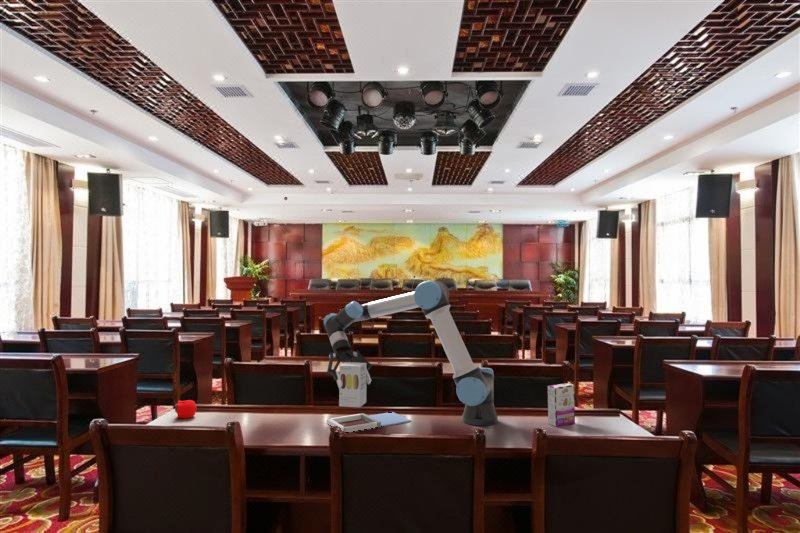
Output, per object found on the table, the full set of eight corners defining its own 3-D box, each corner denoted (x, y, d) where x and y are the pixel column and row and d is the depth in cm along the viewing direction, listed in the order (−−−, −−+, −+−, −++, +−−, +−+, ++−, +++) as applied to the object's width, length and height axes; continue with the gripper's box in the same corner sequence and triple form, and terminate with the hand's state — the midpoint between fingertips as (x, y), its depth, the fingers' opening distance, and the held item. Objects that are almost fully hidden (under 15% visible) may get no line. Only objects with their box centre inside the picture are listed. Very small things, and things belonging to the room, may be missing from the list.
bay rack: (411, 421, 206) (411, 417, 206) (342, 433, 189) (342, 428, 189) (392, 413, 219) (392, 408, 219) (326, 423, 202) (326, 418, 203)
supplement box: (338, 406, 197) (338, 365, 197) (345, 401, 206) (345, 361, 206) (360, 407, 195) (360, 365, 195) (367, 402, 204) (366, 362, 204)
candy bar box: (566, 420, 208) (566, 382, 209) (575, 423, 204) (575, 385, 205) (547, 424, 203) (546, 385, 204) (556, 427, 199) (555, 387, 199)
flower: (196, 407, 207) (175, 408, 205) (195, 422, 210) (175, 423, 207) (197, 396, 214) (177, 397, 211) (197, 410, 217) (177, 411, 214)
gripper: (362, 347, 221) (378, 386, 207) (311, 351, 208) (325, 393, 195) (367, 336, 217) (384, 375, 203) (316, 340, 204) (330, 382, 190)
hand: (355, 384), depth 199 cm, fingers closed on supplement box, 13 cm apart
